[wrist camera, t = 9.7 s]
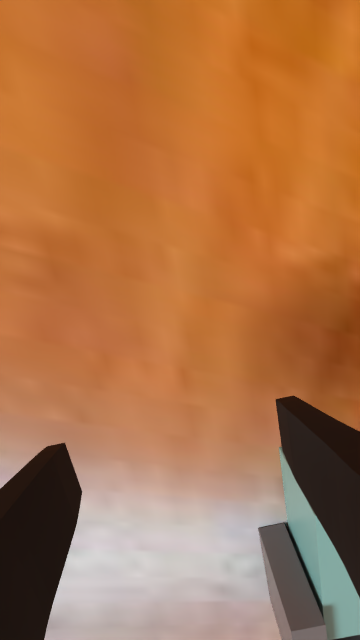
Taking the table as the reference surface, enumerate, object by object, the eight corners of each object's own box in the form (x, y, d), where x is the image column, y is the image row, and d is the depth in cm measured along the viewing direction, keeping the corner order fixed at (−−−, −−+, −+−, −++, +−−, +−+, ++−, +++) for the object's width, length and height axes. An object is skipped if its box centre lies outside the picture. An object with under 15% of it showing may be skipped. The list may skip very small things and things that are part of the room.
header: (374, 504, 25) (447, 600, 18) (379, 629, 28) (441, 744, 22) (258, 528, 25) (291, 631, 18) (279, 649, 29) (312, 770, 22)
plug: (333, 435, 23) (388, 502, 17) (340, 542, 26) (388, 629, 20) (278, 446, 23) (314, 515, 17) (290, 551, 26) (325, 641, 20)
